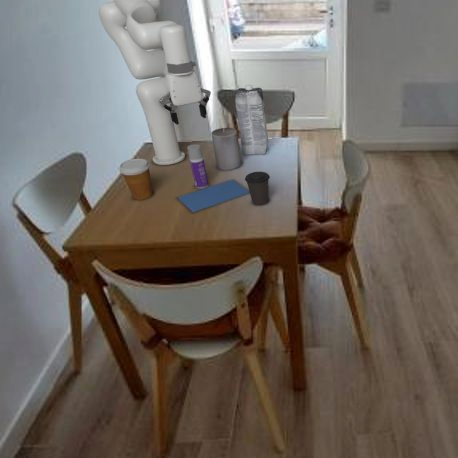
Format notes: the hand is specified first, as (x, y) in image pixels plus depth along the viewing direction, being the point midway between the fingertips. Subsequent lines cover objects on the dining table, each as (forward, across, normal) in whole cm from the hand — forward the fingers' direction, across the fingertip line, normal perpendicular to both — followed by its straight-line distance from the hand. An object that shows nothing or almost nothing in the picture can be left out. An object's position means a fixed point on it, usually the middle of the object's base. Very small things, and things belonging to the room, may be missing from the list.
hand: (190, 120), depth 145 cm
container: (+23, +2, +3) cm, 24 cm away
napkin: (+23, +1, +13) cm, 26 cm away
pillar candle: (+24, -14, -7) cm, 28 cm away
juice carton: (+24, -29, -12) cm, 39 cm away
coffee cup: (+23, -9, +28) cm, 37 cm away
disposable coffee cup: (+24, +21, -3) cm, 31 cm away
